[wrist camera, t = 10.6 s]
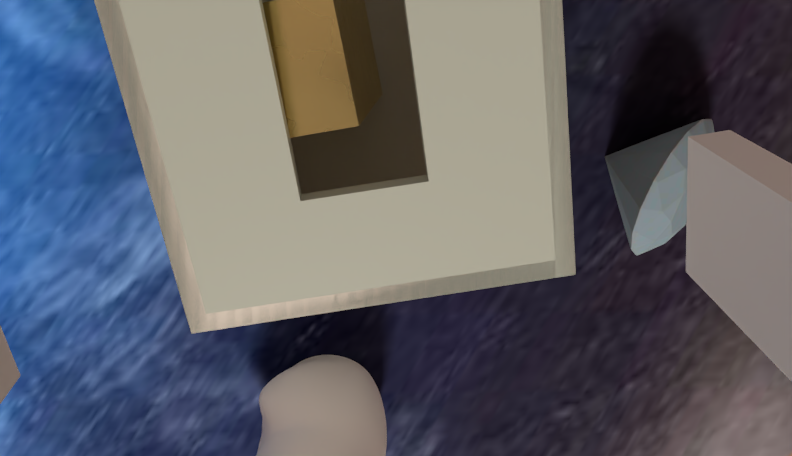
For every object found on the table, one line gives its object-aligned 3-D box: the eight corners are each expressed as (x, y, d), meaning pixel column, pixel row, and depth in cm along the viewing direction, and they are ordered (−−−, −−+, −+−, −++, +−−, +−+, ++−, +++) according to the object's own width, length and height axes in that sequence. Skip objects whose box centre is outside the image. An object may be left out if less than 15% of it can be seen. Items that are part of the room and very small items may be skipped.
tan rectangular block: (322, 104, 36) (282, 139, 28) (299, -2, 34) (250, 5, 27) (382, 94, 35) (358, 125, 28) (361, -14, 34) (330, -11, 26)
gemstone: (544, 215, 37) (634, 264, 34) (618, 72, 35) (717, 112, 33) (593, 224, 43) (672, 266, 41) (657, 104, 42) (743, 140, 39)
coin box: (227, 236, 40) (191, 333, 30) (134, -134, 32) (49, -153, 23) (522, 191, 40) (575, 274, 30) (493, -189, 32) (550, -230, 23)
